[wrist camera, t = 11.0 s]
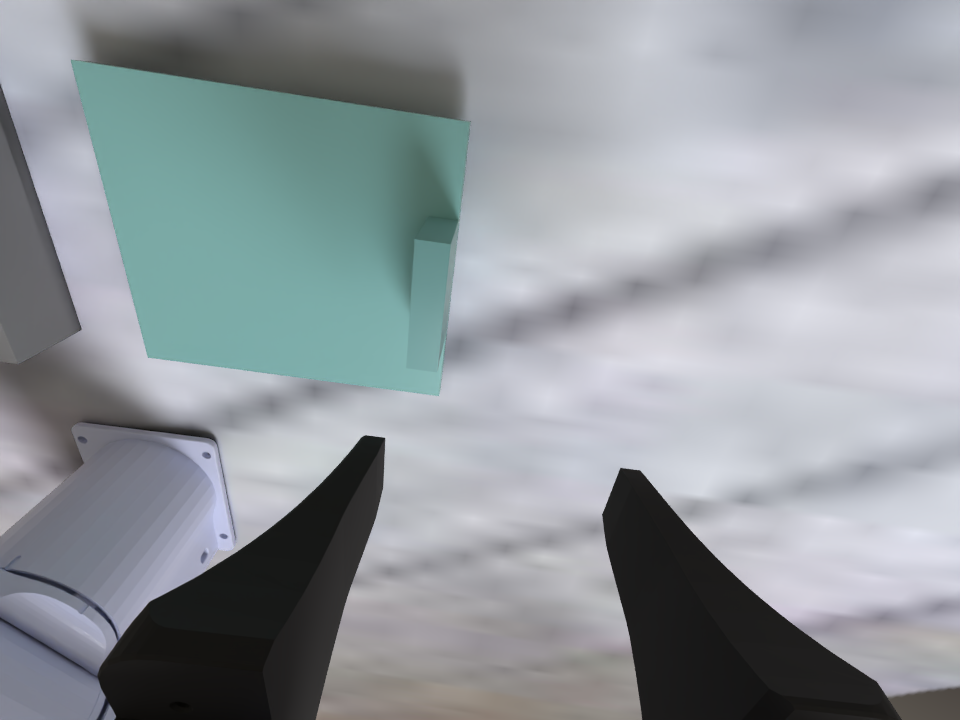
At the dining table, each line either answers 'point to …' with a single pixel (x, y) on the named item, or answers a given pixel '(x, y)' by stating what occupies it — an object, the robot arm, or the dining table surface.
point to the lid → (280, 225)
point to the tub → (27, 261)
